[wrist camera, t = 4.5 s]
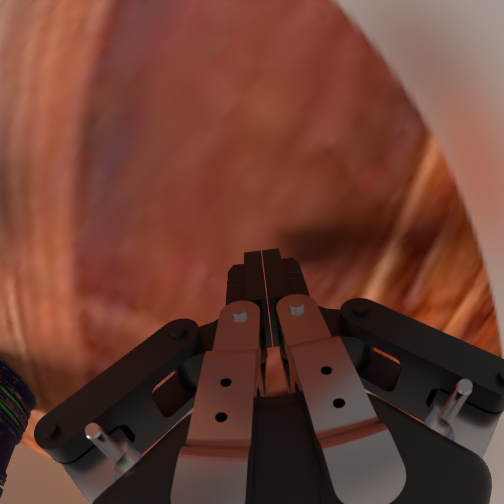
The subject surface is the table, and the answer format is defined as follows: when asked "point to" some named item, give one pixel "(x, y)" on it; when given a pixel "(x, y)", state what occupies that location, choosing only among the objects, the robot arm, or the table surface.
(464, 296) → the table surface
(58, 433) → the robot arm
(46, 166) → the table surface
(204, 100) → the table surface
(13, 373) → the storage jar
